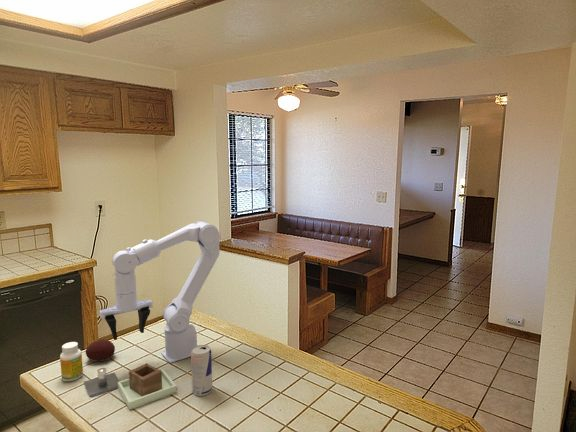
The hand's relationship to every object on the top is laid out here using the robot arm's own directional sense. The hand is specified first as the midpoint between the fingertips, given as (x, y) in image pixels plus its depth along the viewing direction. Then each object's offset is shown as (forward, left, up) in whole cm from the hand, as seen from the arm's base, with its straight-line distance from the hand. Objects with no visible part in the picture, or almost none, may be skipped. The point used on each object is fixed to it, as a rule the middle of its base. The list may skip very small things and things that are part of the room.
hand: (128, 335), depth 117 cm
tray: (0, +16, -10) cm, 19 cm away
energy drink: (-12, +25, -10) cm, 30 cm away
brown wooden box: (0, +16, -9) cm, 18 cm away
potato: (+6, -10, -10) cm, 15 cm away
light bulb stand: (+9, +6, -10) cm, 15 cm away
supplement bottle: (+15, -4, -10) cm, 19 cm away
